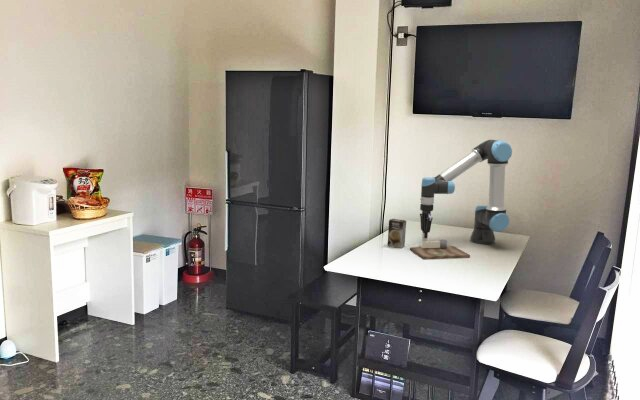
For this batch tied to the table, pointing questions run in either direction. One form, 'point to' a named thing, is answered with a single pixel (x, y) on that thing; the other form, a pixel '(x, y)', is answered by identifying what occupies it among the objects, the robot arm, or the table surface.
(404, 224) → the coffee box
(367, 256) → the table surface
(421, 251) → the dial board
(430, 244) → the grey-tipped match
